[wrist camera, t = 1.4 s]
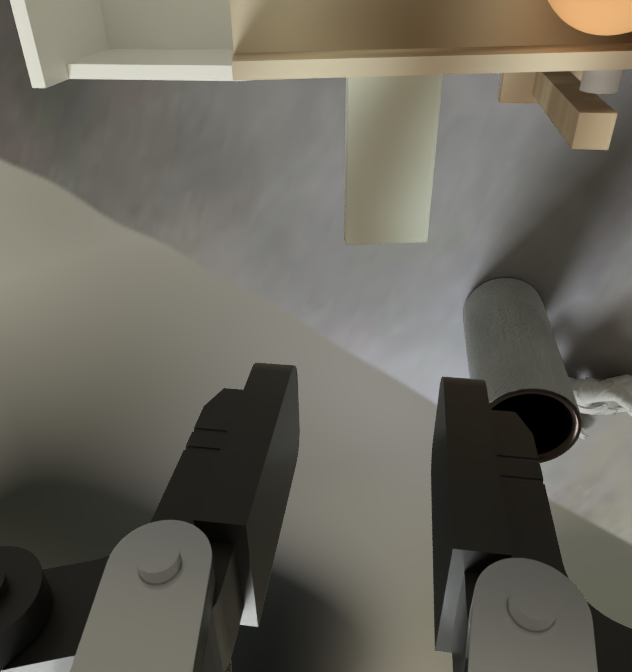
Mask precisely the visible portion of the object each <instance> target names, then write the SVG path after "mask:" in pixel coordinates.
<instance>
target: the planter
mask: <svg viewBox="0 0 632 672" xmlns="http://www.w3.org/2000/svg"><path fill="white" fill-rule="evenodd" d="M463 323H464V332H465V340H466V349H467V357H468V366H469V375H470V379H479V380H485V382H486V386H487V392H488V399H489V406H490V410H498V411H511V412H516V413H517V415H518V416H519V417H520V418H521V420H522V421H523V422H524V423H525V425H526V426H527V427H528V428H529V430H530V431H531V432H532V433H533V436H534V441H535V445H536V449H537V454H538V458H539V459H538V463H542V462H546V461H549V460H552V459H555V458H557V457H559V456H560V455H562V454H564V453H565V452H566V451H568V450H569V449H570V448H571V447H572V446H573V445H574V444H575V442H576V441H577V439H578V438H579V435H580V433H581V429H582V417H581V414H580V411H579V408H578V405H577V402H576V399H575V396H574V393H573V390H572V387H571V384H570V381H569V378H568V375H567V372H566V369H565V366H564V363H563V361H562V358H561V355H560V352H559V349H558V346H557V343H556V340H555V337H554V334H553V331H552V328H551V325H550V322H549V319H548V317H547V314H546V311H545V308H544V305H543V302H542V300H541V298H540V296H539V294H538V293H537V291H536V290H535V289H534V288H533V287H532V286H531V285H529V284H527V283H526V282H524V281H521V280H518V279H513V278H499V279H494V280H491V281H488V282H485V283H483V284H482V285H480V286H479V287H477V288H476V289H475V290H474V291H473V292H472V293H471V294H470V295H469V297H468V298H467V300H466V302H465V305H464V309H463Z"/></svg>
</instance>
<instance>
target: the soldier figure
mask: <svg viewBox="0 0 632 672" xmlns="http://www.w3.org/2000/svg"><path fill="white" fill-rule="evenodd" d="M569 381H570V384H571V387H572V390H573V393H574V396H575V399H576V402H577V405H578V408H579V411H580V413H583V414H585V413H588V414H590V415H599V414H605V415H608V414H616V413H618V412H626V411H627V413H628V414H629V415H630V416H632V376H630V375H621V376H616V377H611V378H608V379H605V380H602V381H600V380H597V379H594V378H591V377H586V378H585V379H575V378H569ZM582 427H583V426H582ZM579 437H580V438H583V439H588V438H587V437H589V436H587V435H585V434H584V433H583V431H582V429H581V433H580V435H579Z"/></svg>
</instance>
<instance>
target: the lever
mask: <svg viewBox="0 0 632 672" xmlns="http://www.w3.org/2000/svg"><path fill="white" fill-rule="evenodd" d="M229 1H230V13H231V25H232V37H233V49H234V54H233V58H232V61H231V64H232V76H233V80H268V79H303V78H339V77H346V131H345V211H344V240H345V244H346V245H367V244H391V243H415V242H427V237H428V226H429V216H430V205H431V195H432V184H433V174H434V163H435V153H436V142H437V132H438V121H439V111H440V100H441V90H442V79H443V75H446V74H481V73H517V72H552V71H583V75H582V79H581V84H580V89H579V90H581V91H583V92H587V93H594V94H613V93H617V92H618V90H619V85H620V81H621V77H622V73H623V70H624V69H632V31H631V32H628V33H623V34H618V35H609V36H605V35H594V34H589V33H585V32H582V31H580V30H577V29H575V28H573V27H572V26H570V25H568V24H567V23H566V22H564V21H563V20H562V19H561V18H560V17H559V16H558V15H557V13H556V12H555V11H554V10H553V9H552V7H551V5H550V4H549V2H548V0H229Z"/></svg>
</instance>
